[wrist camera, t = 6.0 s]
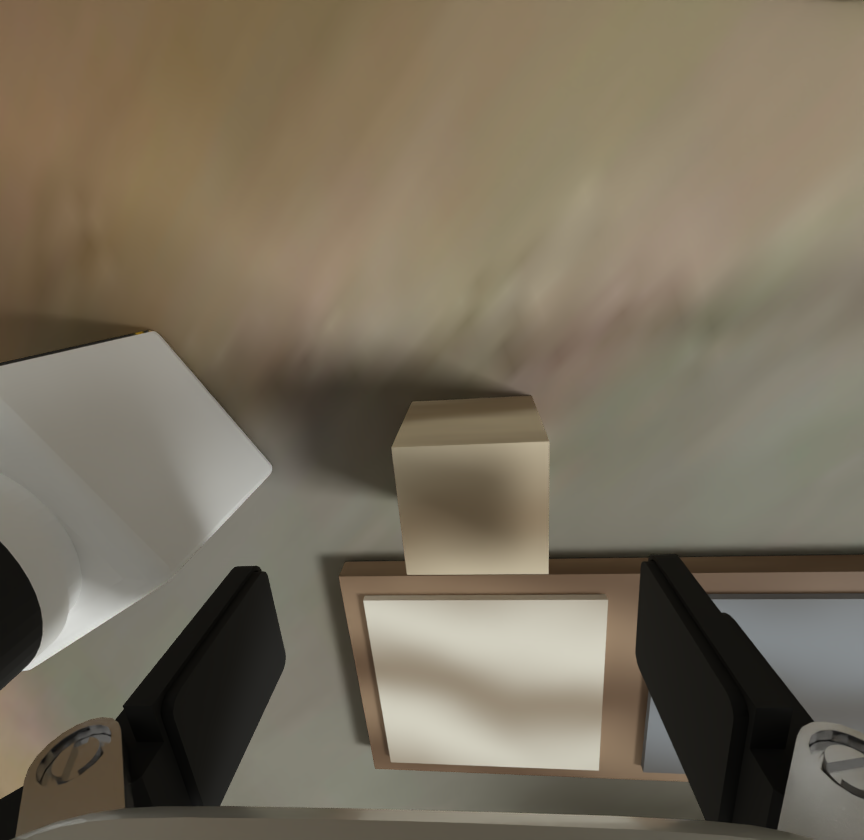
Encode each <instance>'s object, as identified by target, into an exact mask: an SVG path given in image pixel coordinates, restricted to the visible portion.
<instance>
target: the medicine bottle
mask: <svg viewBox="0 0 864 840" xmlns="http://www.w3.org/2000/svg"><path fill="white" fill-rule="evenodd" d="M271 472H272V465H271V463H270V462H269V461H268V460H267V459H266V457H265V456H264V455H263V454H262V453H261V452H260V451H259V449H258V448H257V447H256V446H255V445H254V444H253V442H252V441H251V440H250V439H249V438H248V437H247V435H246V434H245V433H244V432H243V431H242V430H241V428H240V427H239V426H238V425H237V424H236V423H235V421H234V420H233V419H232V418H231V417H230V416H229V415H228V413H227V412H226V411H225V410H224V409H223V408H222V406H221V405H220V404H219V403H218V402H217V401H216V399H215V398H214V397H213V396H212V395H211V394H210V392H209V391H208V390H207V389H206V388H205V387H204V385H203V384H202V383H201V382H200V381H199V380H198V378H197V377H196V376H195V375H194V374H193V373H192V372H191V370H190V369H189V368H188V367H187V366H186V365H185V363H184V362H183V361H182V360H181V359H180V358H179V356H178V355H177V354H176V353H175V352H174V351H173V349H172V348H171V347H170V346H169V345H168V344H167V342H166V341H165V340H164V339H163V338H162V337H161V335H160V334H158V333H157V332H155V331H150V330H147V331H142V332H138V333H133V334H129V335H124V336H120V337H115V338H111V339H106V340H102V341H97V342H92V343H88V344H83V345H79V346H74V347H70V348H65V349H61V350H56V351H52V352H47V353H43V354H38V355H34V356H29V357H25V358H20V359H16V360H11V361H7V362H2V363H0V690H1V689H2V688H3V687H5V686H6V685H7V684H8V683H9V682H10V681H11V680H12V679H13V678H14V677H16V676H17V675H18V674H19V673H20V672H21V671H27V670H30V669H32V668H34V667H35V666H37V665H39V664H40V663H42V662H43V661H45V660H46V659H48V658H49V657H51V656H53V655H54V654H56V653H57V652H59V651H60V650H62V649H63V648H65V647H67V646H68V645H70V644H71V643H73V642H74V641H76V640H78V639H79V638H81V637H82V636H84V635H85V634H87V633H88V632H90V631H92V630H93V629H95V628H96V627H98V626H99V625H101V624H102V623H104V622H106V621H107V620H109V619H110V618H112V617H113V616H115V615H116V614H118V613H120V612H121V611H123V610H124V609H126V608H127V607H129V606H130V605H132V604H134V603H135V602H137V601H138V600H140V599H141V598H143V597H145V596H146V595H148V594H149V593H151V592H152V591H154V590H155V589H157V588H159V587H160V586H162V585H163V584H165V583H166V582H168V581H169V580H170V579H171V578H172V577H173V576H174V575H175V574H176V573H177V572H178V571H179V570H180V569H181V568H182V567H183V566H184V564H185V563H186V562H187V561H188V560H189V559H190V558H191V557H192V556H193V555H194V554H195V553H196V552H197V551H198V550H199V549H200V548H201V547H202V546H203V545H204V543H205V542H206V541H207V540H208V539H209V538H210V537H211V536H212V535H213V534H214V533H215V532H216V531H217V530H218V529H219V528H220V527H221V526H222V525H223V523H224V522H225V521H226V520H227V519H228V518H229V517H230V516H231V515H232V514H233V513H234V512H235V511H236V510H237V509H238V508H239V507H240V506H241V505H242V504H243V502H244V501H245V500H246V499H247V498H248V497H249V496H250V495H251V494H252V493H253V492H254V491H255V490H256V489H257V488H258V487H259V486H260V485H261V484H262V483H263V481H264V480H265V479H266V478H267V477H268V476H269V475H270V474H271Z"/></svg>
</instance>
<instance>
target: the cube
mask: <svg viewBox="0 0 864 840" xmlns="http://www.w3.org/2000/svg"><path fill="white" fill-rule="evenodd" d="M391 449H392V458H393V466H394V474H395V482H396V490H397V498H398V506H399V515H400V523H401V531H402V539H403V547H404V555H405V563H406V572H407V575H473V574H549V439H548V437H547V434H546V432H545V429H544V426H543V424H542V421H541V419H540V416H539V414H538V411H537V409H536V406H535V403H534V401H533V398H532V396H512V397H492V398H473V399H453V400H434V401H414V402H412V403H411V405H410V407H409V409H408V411H407V414H406V416H405V418H404V420H403V423H402V425H401V427H400V429H399V432H398V434H397V436H396V438H395V440H394V443H393V445H392V447H391Z"/></svg>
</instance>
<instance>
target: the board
mask: <svg viewBox="0 0 864 840" xmlns="http://www.w3.org/2000/svg"><path fill="white" fill-rule="evenodd" d="M680 559H681V560H682V561H683V563H684V564H685V565H686V567H687V568H688V569H689V571H690V572H691V573H692V575H693V576H694V577H695V579H696V580H697V581H698V582H699V584H700V585H701V586H702V588H703V589H704V590H705V592H706V593H707V594H708V596H709V597H710V598H711V600H712V601H713V602H714V604H715V605H716V606H717V608H718V609H719V610H720V611H721V613H723V612H725V613H727V614H729V615H730V616H731V617H732V618H733V619H734V620H735V621H736V622H737V623H738V625H739V626H740V627H741V628H742V630H743V631H744V632H745V633H746V635H747V636H748V637H749V639H750V640H751V641H752V642H753V644H754V645H755V646H756V648H757V649H758V650H759V651H760V653H761V654H762V655H763V656H764V658H765V659H766V660H767V662H768V663H769V664H770V665H771V667H772V668H773V669H774V671H775V672H776V673H777V674H778V676H779V677H780V678H781V679H782V681H783V682H784V683H785V685H786V686H787V687H788V688H789V690H790V691H791V692H792V694H793V695H794V696H795V697H796V699H797V700H798V701H799V703H800V704H801V705H802V706H803V708H804V709H805V710H806V711H807V713H808V714H809V715H810V717H811V718H812V719H813V720H814V722H830V723H835V724H841V725H843V726H846V727H849V728H851V729H854V730H857V731H859V732H861V733H863V734H864V555H799V556H726V557H680ZM643 561H648V558H579V559H549V574H473V575H407V572H406V563H405V561H358V562H345V563H344V565H343V568H342V570H341V572H340V575H339V581H340V586H341V592H342V597H343V602H344V607H345V613H346V618H347V623H348V628H349V634H350V639H351V644H352V650H353V655H354V660H355V665H356V671H357V676H358V681H359V686H360V692H361V697H362V702H363V708H364V713H365V718H366V723H367V729H368V734H369V739H370V745H371V750H372V755H373V760H374V766H375V769H395V770H419V771H442V772H466V773H490V774H514V775H538V776H562V777H586V778H610V779H634V780H657V781H681V782H689V781H688V779H687V777H686V774H685V772H684V770H683V767H682V765H681V763H680V761H679V758H678V756H677V754H676V752H675V749H674V747H673V745H672V742H671V740H670V738H669V736H668V733H667V731H666V729H665V727H664V724H663V722H662V720H661V718H660V715H659V713H658V711H657V708H656V706H655V704H654V702H653V699H652V697H651V695H650V693H649V690H648V688H647V686H646V683H645V681H644V679H643V677H642V674H641V672H640V670H639V667H638V664H637V660H636V654H635V647H636V631H637V616H638V600H639V585H640V569H641V563H642V562H643Z"/></svg>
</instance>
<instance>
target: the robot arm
mask: <svg viewBox="0 0 864 840" xmlns="http://www.w3.org/2000/svg"><path fill="white" fill-rule="evenodd" d="M635 654H636V660H637V664H638V667H639V670H640V672H641V674H642V677H643V679H644V681H645V683H646V686H647V688H648V690H649V693H650V695H651V697H652V699H653V702H654V704H655V706H656V708H657V711H658V713H659V715H660V718H661V720H662V722H663V724H664V727H665V729H666V731H667V733H668V736H669V738H670V740H671V742H672V745H673V747H674V749H675V752H676V754H677V756H678V758H679V761H680V763H681V765H682V767H683V770H684V772H685V774H686V777H687V779H688V781H689V783H690V786H691V788H692V790H693V792H694V795H695V797H696V799H697V802H698V804H699V806H700V808H701V811H702V813H703V815H704V817H705V820H706V821H705V820H686V819H666V818H646V817H627V816H600V815H568V814H537V813H505V812H470V811H432V810H392V809H350V808H298V807H244V806H220V804H221V802H222V800H223V798H224V796H225V794H226V792H227V789H228V787H229V785H230V783H231V781H232V779H233V777H234V774H235V772H236V770H237V768H238V766H239V764H240V762H241V759H242V757H243V755H244V753H245V751H246V749H247V747H248V744H249V742H250V740H251V738H252V736H253V734H254V732H255V729H256V727H257V725H258V723H259V721H260V719H261V717H262V714H263V712H264V710H265V708H266V706H267V704H268V702H269V699H270V697H271V695H272V693H273V691H274V689H275V686H276V684H277V682H278V680H279V678H280V676H281V674H282V671H283V669H284V666H285V660H286V655H285V649H284V645H283V641H282V636H281V632H280V627H279V623H278V619H277V614H276V610H275V605H274V601H273V597H272V592H271V588H270V583H269V579H268V575H267V573H266V572H262V571H261V569H260V567H258V566H237V567H234V568H233V569H232V570H231V571H230V573H229V574H228V575H227V576H226V578H225V579H224V580H223V581H222V583H221V584H220V585H219V586H218V588H217V589H216V590H215V591H214V593H213V594H212V595H211V596H210V598H209V599H208V600H207V601H206V603H205V604H204V605H203V606H202V608H201V609H200V610H199V611H198V613H197V614H196V615H195V616H194V618H193V619H192V620H191V621H190V623H189V624H188V625H187V626H186V628H185V629H184V630H183V631H182V633H181V634H180V635H179V636H178V638H177V639H176V640H175V641H174V643H173V644H172V645H171V646H170V648H169V649H168V650H167V651H166V653H165V654H164V655H163V656H162V658H161V659H160V660H159V661H158V663H157V664H156V665H155V666H154V668H153V669H152V670H151V671H150V673H149V674H148V675H147V676H146V678H145V679H144V680H143V681H142V683H141V684H140V685H139V686H138V688H137V689H136V690H135V691H134V693H133V694H132V695H131V696H130V698H129V699H128V700H127V701H126V703H125V704H124V705H123V708H124V710H123V711H122V712H121V713H120V715H119V716H118V717H117V718H116V720H114V719H112V718H104V717H102V718H96V719H91V720H88V721H86V722H83V723H81V724H78V725H76V726H74V727H73V728H71V729H69V730H67V731H66V732H64V733H62V734H61V735H60V736H58V737H57V738H56V739H55V740H53V741H52V742H51V743H49V744H48V745H47V746H46V747H45V748H44V749H43V750H42V751H41V752H40V753H39V755H38V756H37V757H36V758H35V760H34V761H33V763H32V764H31V766H30V767H29V769H28V771H27V774H26V777H25V780H24V786H23V787H21V788H19V789H17V790H16V791H14V792H12V793H10V794H9V795H7V796H5V797H3V798H2V799H0V840H864V734H863V733H861V732H859V731H857V730H854V729H851V728H849V727H846V726H843V725H841V724H835V723H830V722H814V720H813V719H812V718H811V717H810V715H809V714H808V713H807V711H806V710H805V709H804V708H803V706H802V705H801V704H800V703H799V701H798V700H797V699H796V697H795V696H794V695H793V694H792V692H791V691H790V690H789V688H788V687H787V686H786V685H785V683H784V682H783V681H782V679H781V678H780V677H779V676H778V674H777V673H776V672H775V671H774V669H773V668H772V667H771V665H770V664H769V663H768V662H767V660H766V659H765V658H764V656H763V655H762V654H761V653H760V651H759V650H758V649H757V648H756V646H755V645H754V644H753V642H752V641H751V640H750V639H749V637H748V636H747V635H746V633H745V632H744V631H743V630H742V628H741V627H740V626H739V625H738V623H737V622H736V621H735V620H734V619H733V618H732V617H731V616H730V615H729V614H727V613H725V612H723V613H721V611H720V610H719V609H718V608H717V606H716V605H715V604H714V602H713V601H712V600H711V598H710V597H709V596H708V594H707V593H706V592H705V590H704V589H703V588H702V586H701V585H700V584H699V582H698V581H697V580H696V579H695V577H694V576H693V575H692V573H691V572H690V571H689V569H688V568H687V567H686V565H685V564H684V563H683V561H682V560H681V559H680V557H679V556H678V555H675V554H664V555H650V556H649V558H648V561H643V562H642V563H641V569H640V585H639V600H638V616H637V631H636V647H635Z"/></svg>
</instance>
